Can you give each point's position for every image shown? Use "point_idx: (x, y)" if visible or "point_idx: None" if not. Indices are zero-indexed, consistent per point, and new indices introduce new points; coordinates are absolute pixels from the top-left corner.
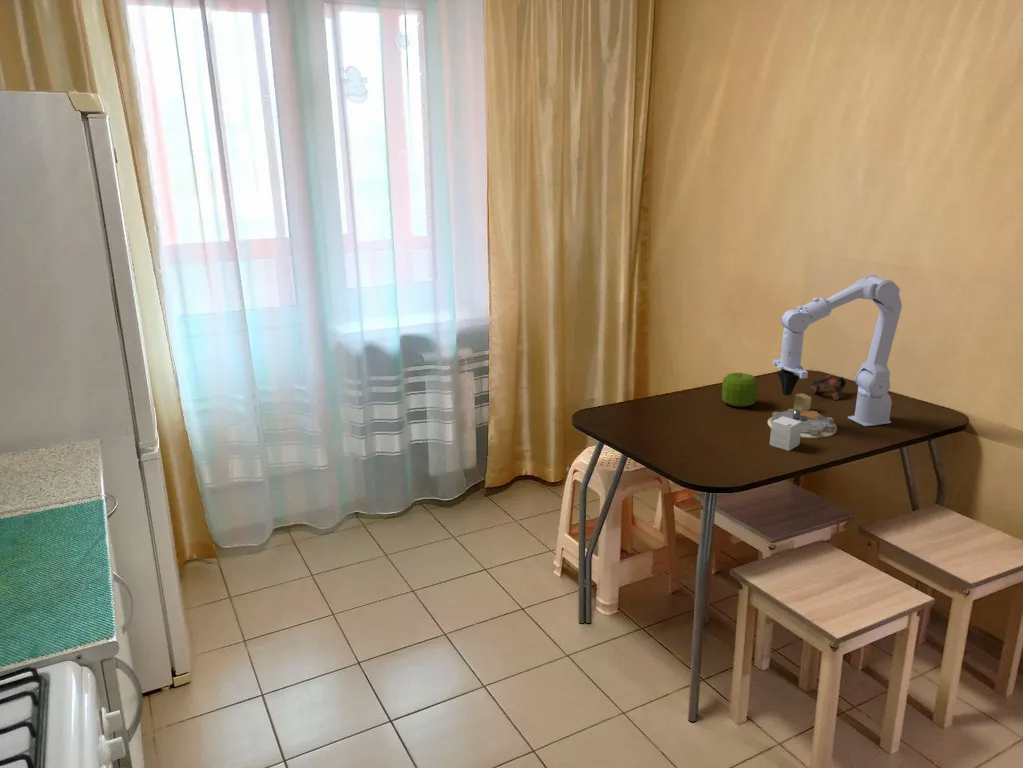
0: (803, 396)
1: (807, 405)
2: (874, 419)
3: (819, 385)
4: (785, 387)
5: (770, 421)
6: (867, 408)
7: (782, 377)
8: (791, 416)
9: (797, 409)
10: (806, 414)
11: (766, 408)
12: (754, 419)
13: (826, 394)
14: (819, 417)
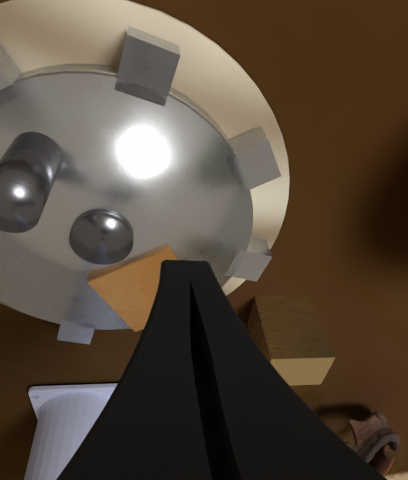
0: (288, 369)
1: (256, 341)
2: (36, 427)
3: (350, 444)
4: (149, 325)
5: (224, 79)
6: (37, 460)
7: (231, 451)
8: (164, 207)
9: (285, 301)
10: (154, 284)
11: (398, 206)
12: (330, 10)
13: (336, 420)
14: (100, 309)
